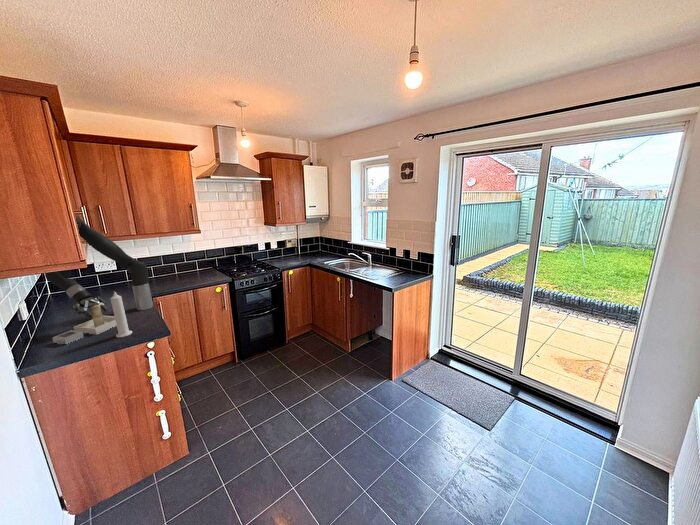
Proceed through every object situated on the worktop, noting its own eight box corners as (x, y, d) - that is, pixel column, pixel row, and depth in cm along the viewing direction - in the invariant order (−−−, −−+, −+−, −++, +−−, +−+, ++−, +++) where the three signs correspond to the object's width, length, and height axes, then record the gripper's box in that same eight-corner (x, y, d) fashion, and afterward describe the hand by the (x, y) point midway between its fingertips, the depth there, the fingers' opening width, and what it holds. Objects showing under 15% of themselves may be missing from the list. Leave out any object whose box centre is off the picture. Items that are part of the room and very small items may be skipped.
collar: (72, 336, 156) (70, 330, 156) (83, 337, 155) (82, 331, 154) (53, 343, 148) (52, 337, 148) (66, 344, 147) (64, 338, 146)
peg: (96, 325, 168) (91, 306, 165) (105, 323, 169) (101, 304, 167) (93, 328, 164) (88, 308, 161) (103, 326, 165) (98, 307, 163)
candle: (135, 331, 160) (126, 289, 154) (126, 337, 153) (116, 293, 147) (122, 331, 160) (112, 289, 154) (112, 337, 153) (102, 294, 147)
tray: (104, 320, 176) (102, 315, 175) (124, 322, 173) (123, 316, 172) (74, 332, 161) (73, 326, 160) (96, 334, 157) (95, 328, 157)
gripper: (67, 294, 156) (88, 314, 157) (94, 286, 170) (114, 305, 170) (62, 302, 159) (83, 322, 159) (89, 294, 172) (108, 312, 172)
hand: (99, 313), depth 165 cm, fingers open, 8 cm apart
